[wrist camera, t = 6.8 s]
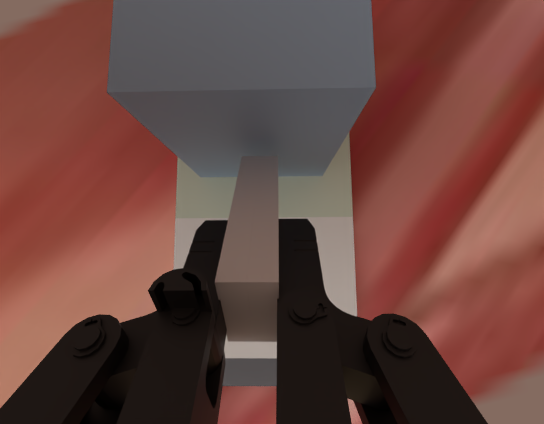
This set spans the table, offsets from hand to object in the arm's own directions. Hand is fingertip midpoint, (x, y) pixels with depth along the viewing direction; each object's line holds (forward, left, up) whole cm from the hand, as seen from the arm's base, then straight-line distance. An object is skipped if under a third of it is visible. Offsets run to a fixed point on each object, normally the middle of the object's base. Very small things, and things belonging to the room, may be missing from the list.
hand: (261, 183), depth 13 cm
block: (0, +4, -4) cm, 6 cm away
